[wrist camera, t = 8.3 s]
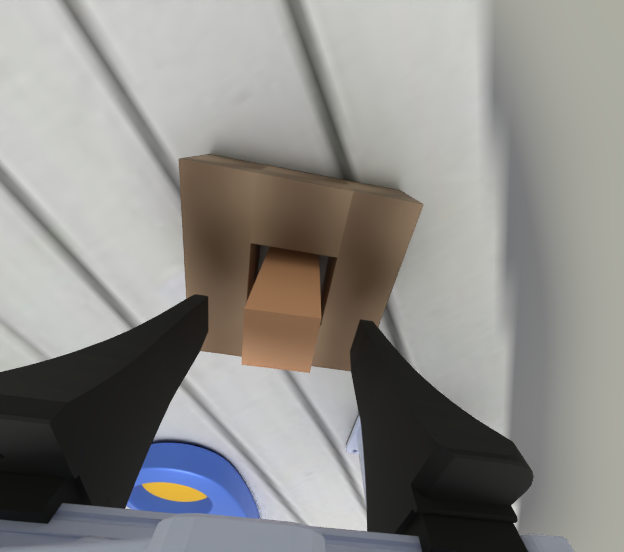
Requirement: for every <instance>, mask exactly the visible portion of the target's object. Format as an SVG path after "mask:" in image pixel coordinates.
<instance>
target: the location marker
mask: <svg viewBox="0 0 624 552" xmlns="http://www.w3.org/2000/svg"><path fill="white" fill-rule="evenodd" d="M126 506H127V507H129V508H130V509H132V510H142V511H153V512H164V513H174V514H182V513H202V514H213V515H223V516H234V517H244V518H255V519H259V513H258V510H257V507H256V504H255V502H254V499H253V497H252V495H251V493H250V491H249V489H248V488H247V486H246V484H245V482H244V481H243V479H242V478H241V476H240V475H239V474H238V472H237V471H236V470H235V469H234V467H233V466H232V465H231V464H230V463H229V462H228V461H226V460H225V459H224V458H222V457H221V456H219V455H218V454H216V453H214V452H212V451H209V450H207V449H204V448H201V447H197V446H193V445H189V444H182V443H155V444H151V446H150V448H149V451H148V453H147V456H146V458H145V460H144V463H143V465H142V468H141V470H140V472H139V475H138V477H137V480H136V482H135V485H134V487H133V490H132V492H131V495H130V498H129V500H128V503H127V505H126Z"/></svg>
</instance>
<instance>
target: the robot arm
mask: <svg viewBox="0 0 624 552" xmlns="http://www.w3.org/2000/svg"><path fill="white" fill-rule="evenodd" d="M208 331H209V322H208V296H204V295H198V294H194V295H192V296H191V297H189V298H187V299H185V300H184V301H182V302H180V303H179V304H177V305H175V306H174V307H172V308H170V309H169V310H167V311H165V312H163V313H162V314H160V315H158V316H156V317H154V318H152V319H151V320H149V321H147V322H145V323H143V324H141V325H139V326H137V327H135V328H133V329H131V330H129V331H127V332H124V333H122V334H120V335H118V336H115V337H113V338H111V339H108V340H106V341H103V342H100V343H98V344H95V345H92V346H89V347H87V348H84V349H81V350H78V351H75V352H72V353H69V354H66V355H63V356H60V357H57V358H53V359H50V360H46V361H43V362H39V363H36V364H32V365H28V366H24V367H20V368H16V369H12V370H8V371H4V372H0V552H574V550H573V548H572V547H571V545H570V544H569V542H568V540H567V539H566V538H564V537H561V536H551V535H541V534H525V535H521V536H519V533H518V531H517V529H516V527H515V526H514V524H513V523H516V522H517V516H516V514H515V512H514V510H513V509H512V507H511V505H512V504H513V503H514V502H515V501H516V500H517V499H518V498H519V497H521V496H522V495H523V494H524V493H525V492H526V491H527V490H528V489H529V487H530V486H531V484H532V481H533V472H532V470H531V468H530V467H529V465H528V464H527V463H526V461H525V459H524V458H523V456H522V455H521V453H520V452H519V450H518V449H517V447H516V446H515V444H514V443H513V442H512V441H511V440H509V439H507V438H506V437H504V436H502V435H501V434H499V433H498V432H496V431H494V430H493V429H491V428H489V427H488V426H486V425H484V424H483V423H481V422H480V421H478V420H477V419H475V418H474V417H473V416H471V415H470V414H468V413H467V412H465V411H464V410H462V409H461V408H460V407H458V406H457V405H456V404H454V403H453V402H452V401H450V400H449V399H448V398H447V397H445V396H444V395H443V394H442V393H440V392H439V391H438V390H437V389H435V388H434V387H433V386H432V385H431V384H430V383H429V382H427V381H426V380H425V379H424V378H423V377H422V376H421V375H420V374H419V373H418V372H417V371H416V370H415V369H414V368H413V367H412V366H411V365H410V364H409V363H408V362H407V361H406V360H405V359H404V358H403V357H402V356H401V355H400V353H399V352H398V351H397V350H396V349H395V348H394V347H393V345H392V344H391V343H390V342H389V341H388V339H387V338H386V337H385V336H384V334H383V333H382V332H381V331H380V329H379V328H378V327H377V326H376V325H375V323H374V322H373V321H368V320H361V319H360V321H359V325H358V328H357V331H356V334H355V337H354V340H353V343H352V346H351V349H350V363H351V373H352V379H353V384H354V390H355V395H356V400H357V405H358V410H359V416H358V418H357V421H356V423H355V426H354V428H353V430H352V433H351V435H350V438H349V440H348V443H347V445H346V452H348V453H354V454H359V458H360V466H361V473H362V480H363V487H364V494H365V501H366V508H367V532H366V531H356V530H345V529H334V528H324V527H313V526H308V525H303V524H299V523H294V522H287V521H276V520H266V519H255V518H244V517H234V516H223V515H213V514H202V513H182V514H174V513H164V512H153V511H142V510H132V509H125V508H126V505H127V503H128V500H129V498H130V495H131V492H132V490H133V487H134V485H135V482H136V480H137V477H138V475H139V472H140V470H141V468H142V465H143V463H144V460H145V458H146V456H147V453H148V451H149V448H150V446H151V444H152V442H153V439H154V437H155V435H156V433H157V430H158V428H159V426H160V423H161V421H162V419H163V417H164V415H165V413H166V411H167V408H168V406H169V404H170V402H171V400H172V398H173V396H174V395H175V393H176V391H177V389H178V388H179V386H180V384H181V382H182V381H183V379H184V377H185V376H186V374H187V372H188V371H189V369H190V367H191V366H192V364H193V362H194V360H195V359H196V357H197V355H198V354H199V352H200V350H201V348H202V345H203V343H204V341H205V338H206V336H207V333H208Z"/></svg>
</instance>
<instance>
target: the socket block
mask: <svg viewBox="0 0 624 552" xmlns="http://www.w3.org/2000/svg"><path fill="white" fill-rule="evenodd" d="M179 173H180V192H181V210H182V228H183V246H184V264H185V282H186V299H187V298H189V297H191V296H192V295H194V294H198V295H204V296H208V322H209V331H208V333H207V336H206V338H205V341H204V343H203V345H202V348H201V350H200V351H205V352H212V353H220V354H227V355H235V356H242V345H243V322H244V307H245V305H246V303H247V300H248V298H249V295H250V293H251V291H252V288H253V286H254V283H255V281H256V279H257V276H258V274H259V271H260V269H261V267H262V264H263V262H264V259H265V257H266V255H267V252H268V250H269V247H270V246H271V247H277V248H283V249H289V250H295V251H301V252H307V253H313V254H319V268H320V295H321V323H320V327H319V332H318V337H317V341H316V346H315V351H314V355H313V360H312V365H311V366H316V367H323V368H330V369H338V370H345V371H351V363H350V349H351V346H352V343H353V340H354V337H355V334H356V331H357V328H358V325H359V321H360V319H361V320H368V321H373V322H374V323H375V325H376V326H377V327H378V326H379V323H380V320H381V318H382V315H383V312H384V310H385V307H386V304H387V302H388V299H389V296H390V293H391V291H392V288H393V285H394V283H395V280H396V277H397V275H398V272H399V269H400V267H401V264H402V261H403V258H404V256H405V253H406V250H407V248H408V245H409V242H410V240H411V237H412V234H413V232H414V229H415V226H416V223H417V221H418V218H419V215H420V213H421V210H422V207H423V205H424V204H422V203H420V202H419V201H417V200H415V199H414V198H412V197H410V196H409V195H407V194H405V193H404V192H402V191H400V190H395V189H390V188H384V187H379V186H374V185H369V184H363V183H358V182H353V181H348V180H342V179H337V178H332V177H327V176H321V175H316V174H311V173H306V172H300V171H295V170H290V169H285V168H279V167H274V166H269V165H263V164H258V163H253V162H248V161H242V160H237V159H232V158H227V157H221V156H216V155H211V154H207V155H200V156H193V157H187V158H180V159H179Z"/></svg>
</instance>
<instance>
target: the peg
mask: <svg viewBox="0 0 624 552" xmlns="http://www.w3.org/2000/svg"><path fill="white" fill-rule="evenodd" d="M320 323H321V295H320V268H319V254H313V253H307V252H301V251H295V250H289V249H283V248H277V247H271V246H270V247H269V250H268V252H267V255H266V257H265V259H264V262H263V264H262V267H261V269H260V271H259V274H258V276H257V279H256V281H255V283H254V286H253V288H252V291H251V293H250V295H249V298H248V300H247V303H246V305H245V307H244V322H243V345H242V365H249V366H257V367H266V368H274V369H282V370H291V371H299V372H308V373H310V369H311V365H312V360H313V355H314V351H315V346H316V341H317V337H318V332H319V327H320Z"/></svg>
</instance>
